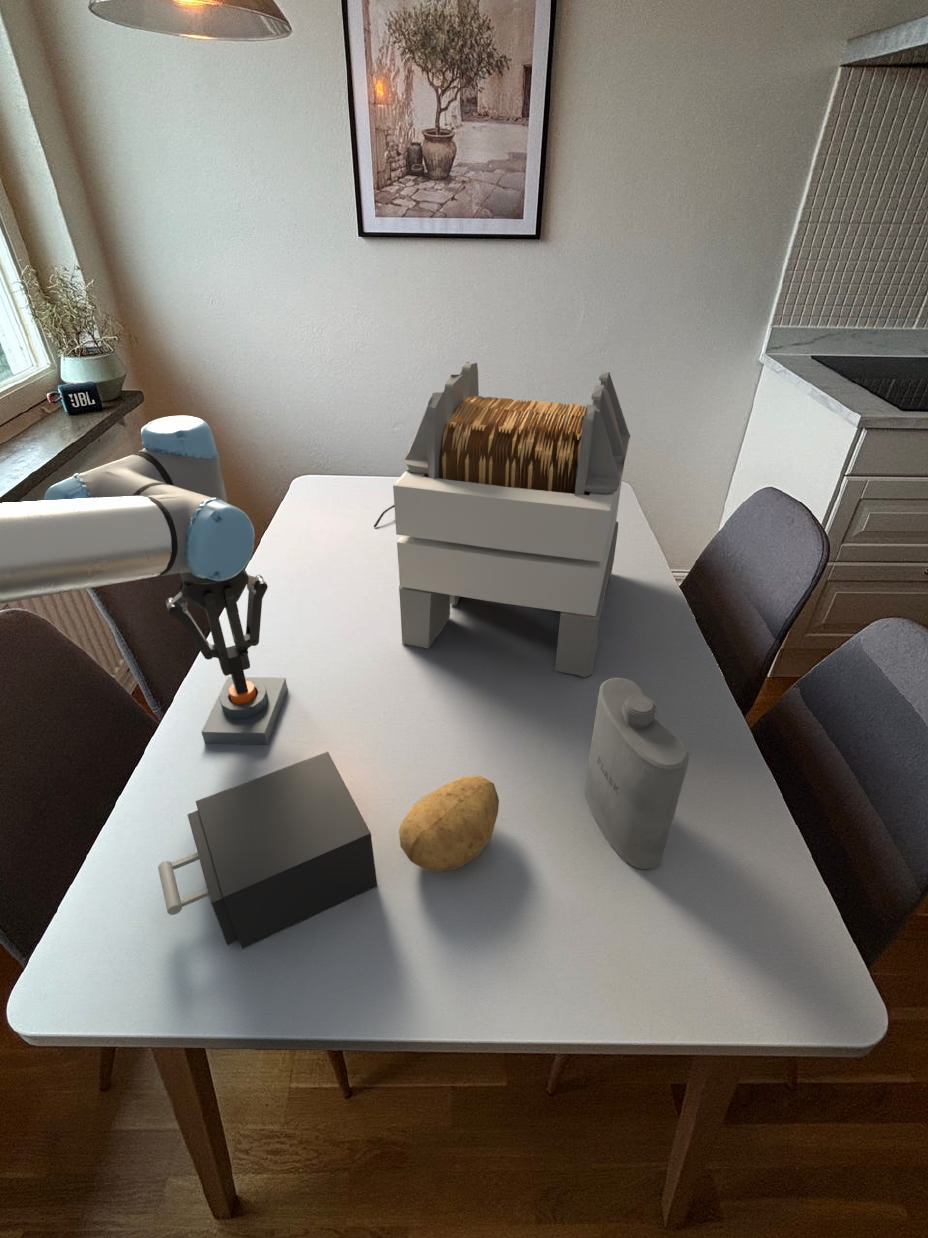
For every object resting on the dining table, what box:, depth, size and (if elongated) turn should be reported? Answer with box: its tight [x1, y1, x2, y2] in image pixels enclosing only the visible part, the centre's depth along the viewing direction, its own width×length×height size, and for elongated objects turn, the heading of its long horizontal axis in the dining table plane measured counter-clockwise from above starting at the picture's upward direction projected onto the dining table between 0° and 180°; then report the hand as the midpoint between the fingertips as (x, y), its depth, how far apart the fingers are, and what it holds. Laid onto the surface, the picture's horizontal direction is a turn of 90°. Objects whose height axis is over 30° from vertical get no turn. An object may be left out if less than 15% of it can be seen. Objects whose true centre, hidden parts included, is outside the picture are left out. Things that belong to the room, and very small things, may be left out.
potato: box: [398, 775, 500, 873], centre depth 81 cm, size 10×14×8 cm
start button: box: [229, 681, 256, 704], centre depth 99 cm, size 4×4×2 cm
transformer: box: [392, 361, 631, 678], centre depth 113 cm, size 34×33×41 cm
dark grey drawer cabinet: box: [195, 751, 378, 950], centre depth 77 cm, size 16×14×10 cm
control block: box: [200, 676, 288, 745], centre depth 101 cm, size 12×9×4 cm
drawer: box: [157, 809, 239, 946], centre depth 76 cm, size 19×12×8 cm, turn 119°
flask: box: [584, 677, 690, 870], centre depth 80 cm, size 15×6×20 cm, turn 17°
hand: (240, 687), depth 99 cm, fingers closed
